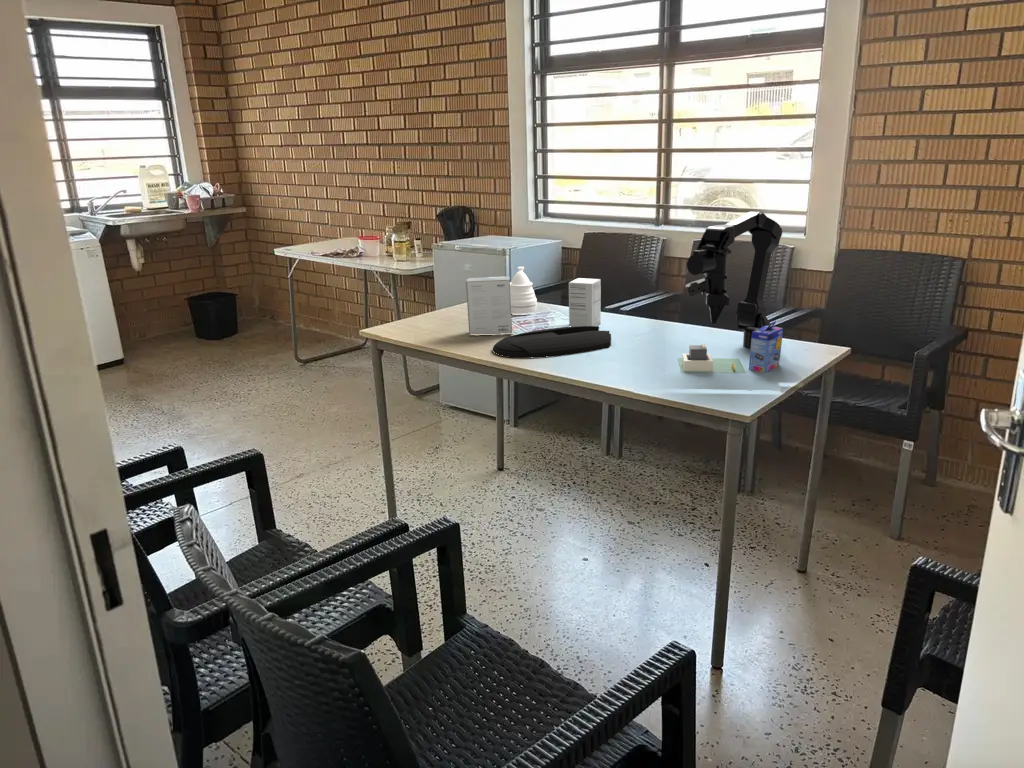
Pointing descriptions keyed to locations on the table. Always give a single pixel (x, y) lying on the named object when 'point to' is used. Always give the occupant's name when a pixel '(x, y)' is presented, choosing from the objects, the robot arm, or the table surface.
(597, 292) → the supplement box
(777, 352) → the ink cartridge box
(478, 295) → the hard drive box
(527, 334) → the docking station
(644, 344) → the table surface
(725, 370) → the board
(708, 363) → the frame
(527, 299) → the honey pot
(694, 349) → the plug
